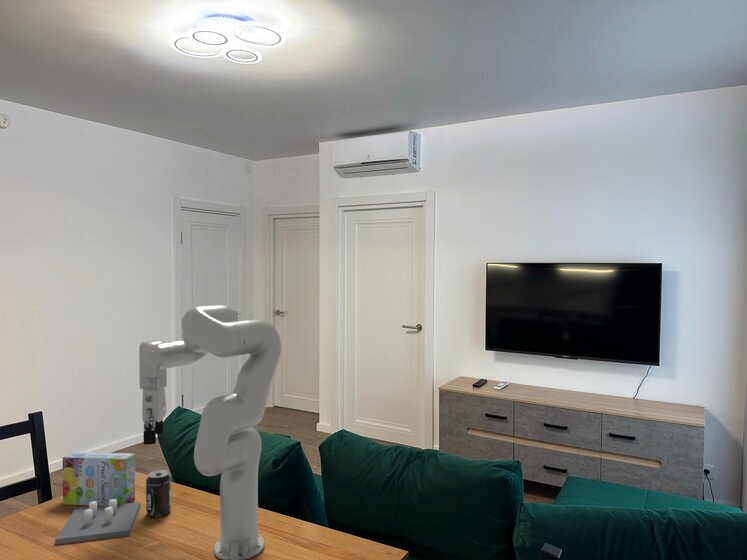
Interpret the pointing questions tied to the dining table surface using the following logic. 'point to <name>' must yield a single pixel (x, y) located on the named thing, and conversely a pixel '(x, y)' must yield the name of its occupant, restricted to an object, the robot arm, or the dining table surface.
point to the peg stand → (99, 522)
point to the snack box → (98, 478)
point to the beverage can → (158, 493)
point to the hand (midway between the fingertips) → (153, 438)
